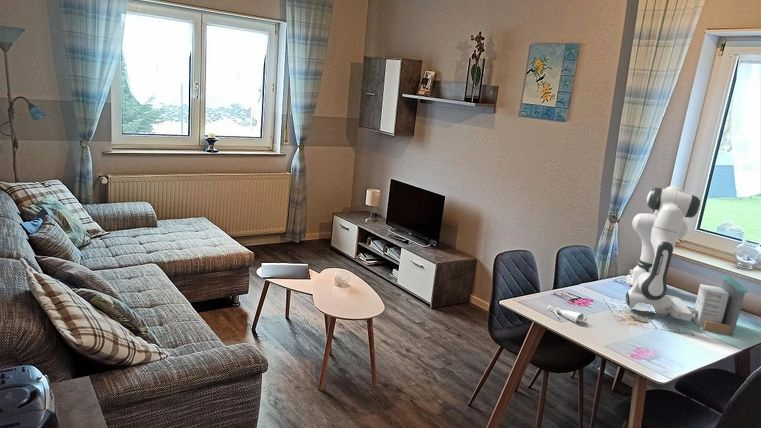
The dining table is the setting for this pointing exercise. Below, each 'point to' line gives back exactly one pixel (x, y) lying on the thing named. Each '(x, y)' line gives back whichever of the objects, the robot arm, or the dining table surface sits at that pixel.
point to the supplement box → (710, 304)
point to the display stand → (728, 308)
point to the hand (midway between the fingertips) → (696, 311)
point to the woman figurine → (568, 314)
